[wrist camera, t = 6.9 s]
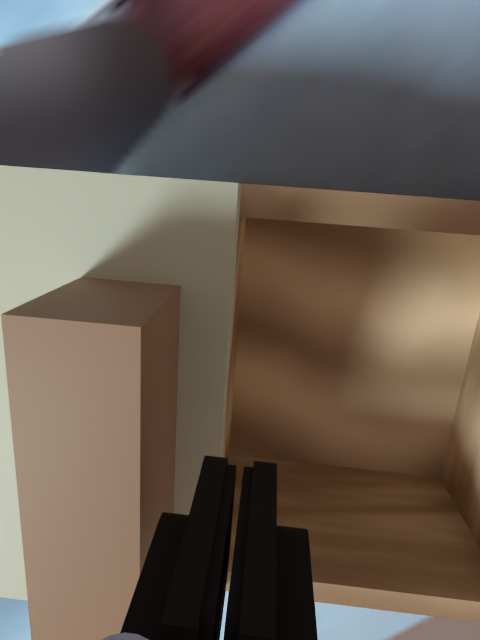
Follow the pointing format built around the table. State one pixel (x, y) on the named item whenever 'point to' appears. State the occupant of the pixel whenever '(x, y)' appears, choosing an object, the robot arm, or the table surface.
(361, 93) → the table surface
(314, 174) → the table surface
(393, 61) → the table surface
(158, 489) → the lid
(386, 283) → the wooden box
